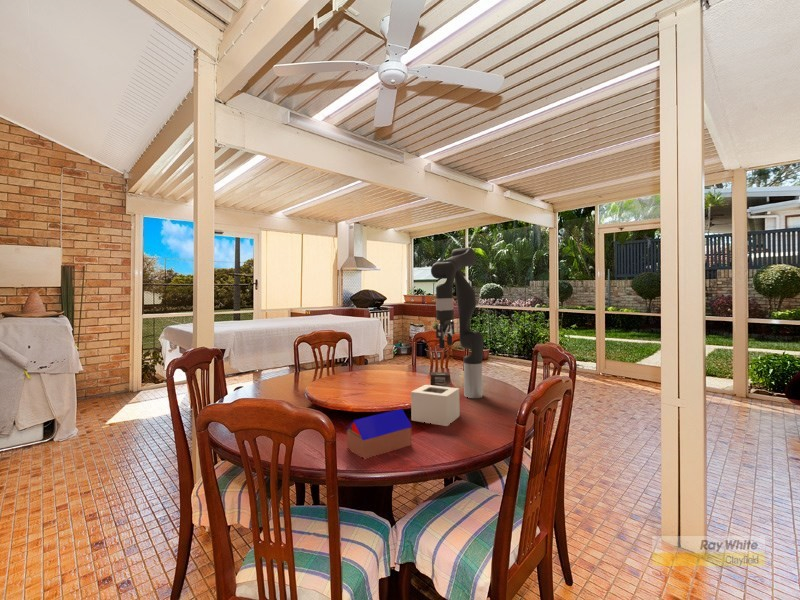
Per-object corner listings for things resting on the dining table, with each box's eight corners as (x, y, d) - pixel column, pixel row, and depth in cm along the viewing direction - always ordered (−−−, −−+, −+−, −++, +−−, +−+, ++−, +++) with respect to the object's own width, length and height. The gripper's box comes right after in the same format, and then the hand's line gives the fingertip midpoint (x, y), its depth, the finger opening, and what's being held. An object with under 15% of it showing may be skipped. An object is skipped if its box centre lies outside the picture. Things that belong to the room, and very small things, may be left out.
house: (345, 449, 135) (345, 415, 134) (393, 435, 146) (392, 404, 146) (363, 460, 125) (362, 424, 125) (412, 445, 137) (412, 412, 136)
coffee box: (430, 410, 176) (429, 374, 176) (430, 406, 183) (429, 372, 182) (450, 410, 175) (450, 375, 175) (450, 406, 182) (449, 372, 182)
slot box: (425, 411, 175) (425, 384, 175) (459, 416, 167) (459, 388, 167) (411, 420, 163) (411, 391, 162) (447, 426, 155) (446, 396, 155)
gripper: (443, 307, 174) (444, 343, 175) (429, 310, 162) (431, 348, 163) (459, 307, 171) (460, 344, 171) (446, 310, 158) (447, 349, 159)
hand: (446, 346), depth 167 cm, fingers open, 8 cm apart
